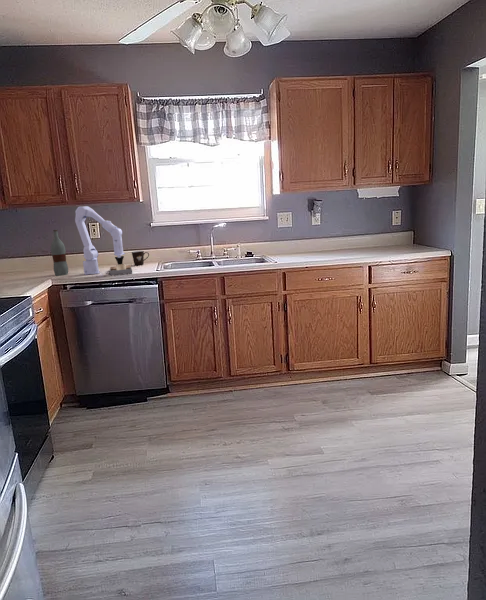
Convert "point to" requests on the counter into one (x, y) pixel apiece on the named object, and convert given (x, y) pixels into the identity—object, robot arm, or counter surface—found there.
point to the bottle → (59, 256)
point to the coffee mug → (139, 257)
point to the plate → (116, 269)
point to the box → (120, 272)
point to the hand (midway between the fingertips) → (120, 267)
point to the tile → (121, 267)
